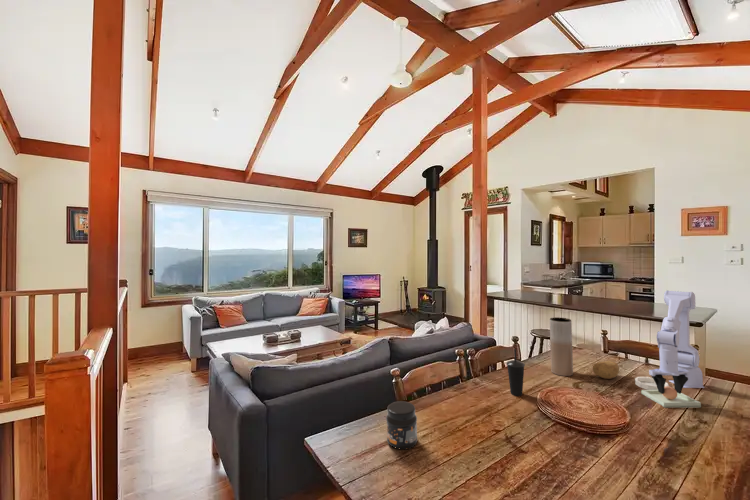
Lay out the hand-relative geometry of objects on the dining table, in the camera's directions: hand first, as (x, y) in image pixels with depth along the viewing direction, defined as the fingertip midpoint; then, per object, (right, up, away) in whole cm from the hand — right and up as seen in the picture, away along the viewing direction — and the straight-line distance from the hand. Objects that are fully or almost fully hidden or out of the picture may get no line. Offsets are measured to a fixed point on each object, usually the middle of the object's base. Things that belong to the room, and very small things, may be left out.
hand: (669, 392), depth 138 cm
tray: (0, -3, 0) cm, 3 cm away
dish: (+4, -3, +14) cm, 15 cm away
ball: (0, -3, 0) cm, 3 cm away
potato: (-8, -4, +26) cm, 27 cm away
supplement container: (-114, -7, -24) cm, 116 cm away
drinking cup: (-59, -5, +11) cm, 61 cm away
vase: (-26, -4, +34) cm, 43 cm away
